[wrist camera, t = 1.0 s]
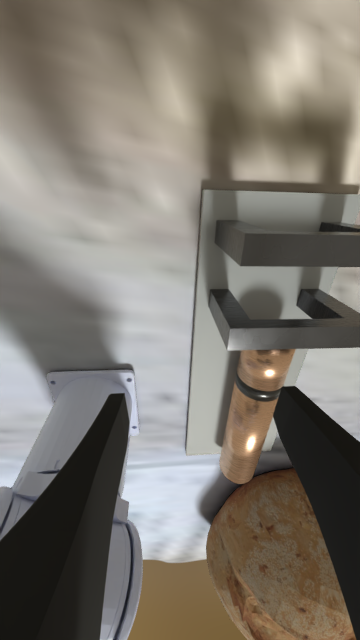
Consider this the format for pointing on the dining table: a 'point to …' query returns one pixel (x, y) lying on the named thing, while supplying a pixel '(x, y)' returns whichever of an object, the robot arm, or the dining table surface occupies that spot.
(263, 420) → the copper tube
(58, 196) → the dining table surface
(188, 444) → the pale gray board
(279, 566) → the bread
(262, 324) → the dark gray arch
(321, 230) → the collar
